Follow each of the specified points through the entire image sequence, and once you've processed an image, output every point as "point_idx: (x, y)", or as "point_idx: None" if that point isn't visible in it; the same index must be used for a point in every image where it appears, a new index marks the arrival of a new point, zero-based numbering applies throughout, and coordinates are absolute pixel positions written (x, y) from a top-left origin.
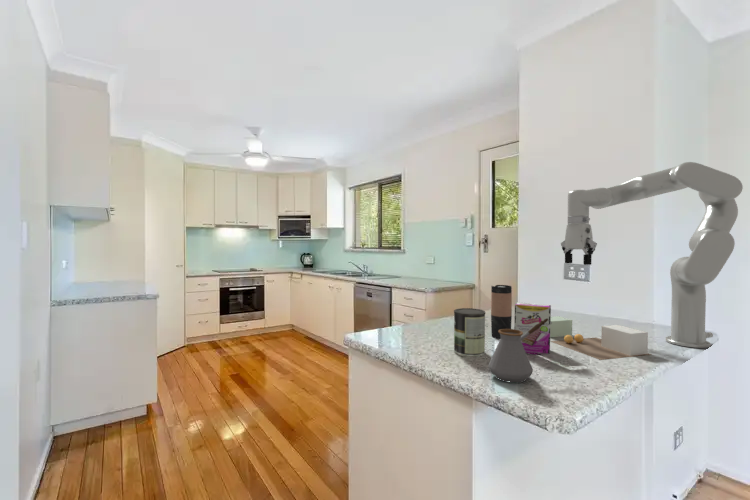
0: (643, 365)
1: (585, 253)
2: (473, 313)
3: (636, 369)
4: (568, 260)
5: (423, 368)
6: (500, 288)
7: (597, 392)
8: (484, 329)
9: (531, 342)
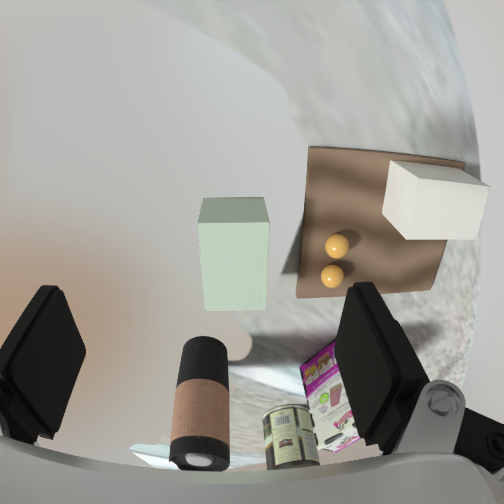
0: None
1: (388, 447)
2: None
3: (469, 255)
4: (68, 352)
5: (319, 450)
6: (223, 467)
7: (462, 352)
8: (310, 440)
9: None
